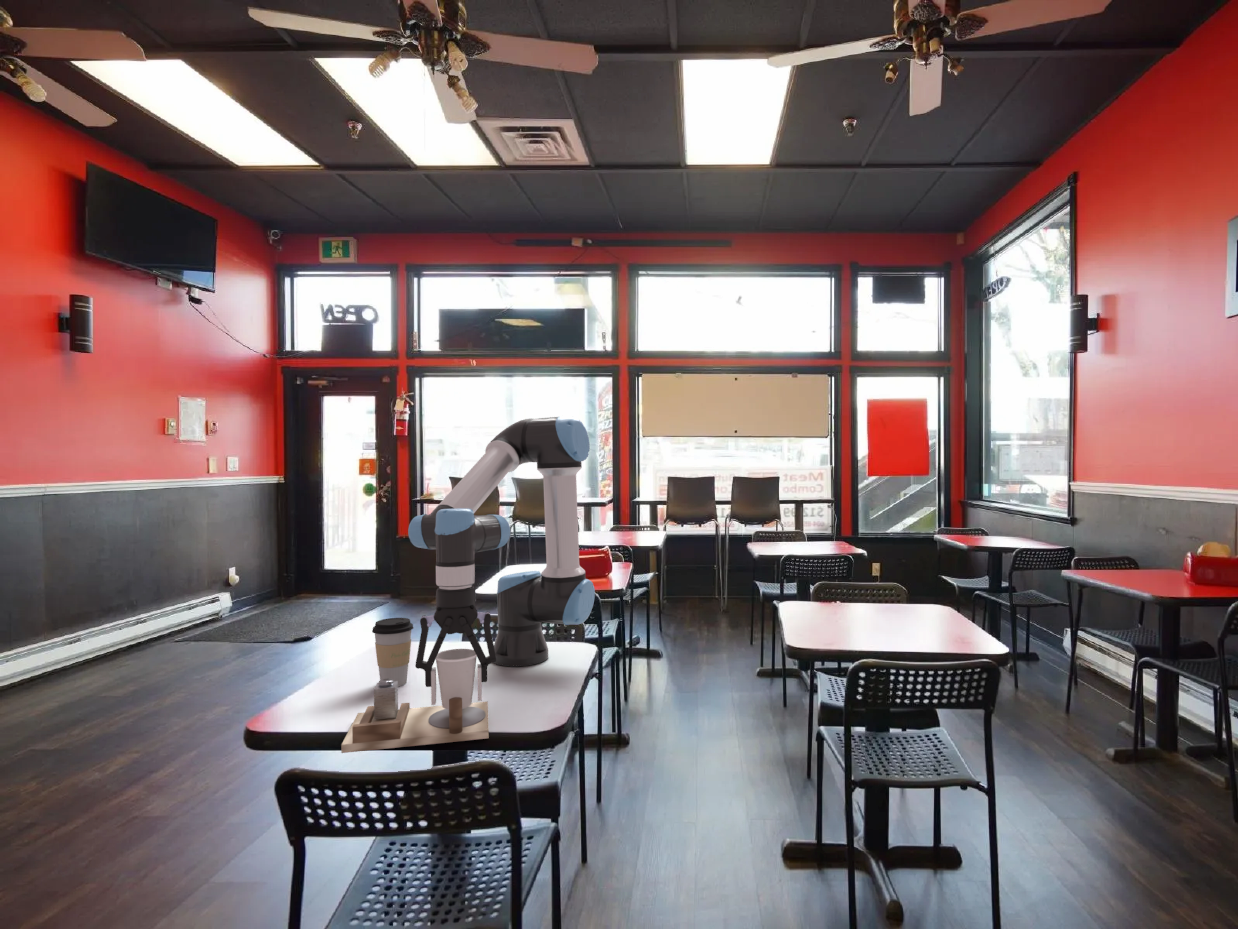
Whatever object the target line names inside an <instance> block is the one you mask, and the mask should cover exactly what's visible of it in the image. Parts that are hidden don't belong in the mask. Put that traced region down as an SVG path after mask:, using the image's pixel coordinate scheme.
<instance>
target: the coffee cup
mask: <svg viewBox="0 0 1238 929" xmlns="http://www.w3.org/2000/svg"><path fill="white" fill-rule="evenodd" d="M374 624H375V625H374V626H373V627H372V630H371V631H372V634H374V639H375V640H374V641H375V642H374V645H375V654H376V662H377V664H376V665H377V667H378V672H379V673H378V674H379V681H380V680H383V679H393V681H398V687H403V686H404V685H406V684H407V681H408V672H409V663H410V656H411V647H412V630H413V629H414V623H412V622H411V619H410V618H407V617H389V618H383V619H380V620H377V621H375V623H374Z"/></svg>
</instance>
